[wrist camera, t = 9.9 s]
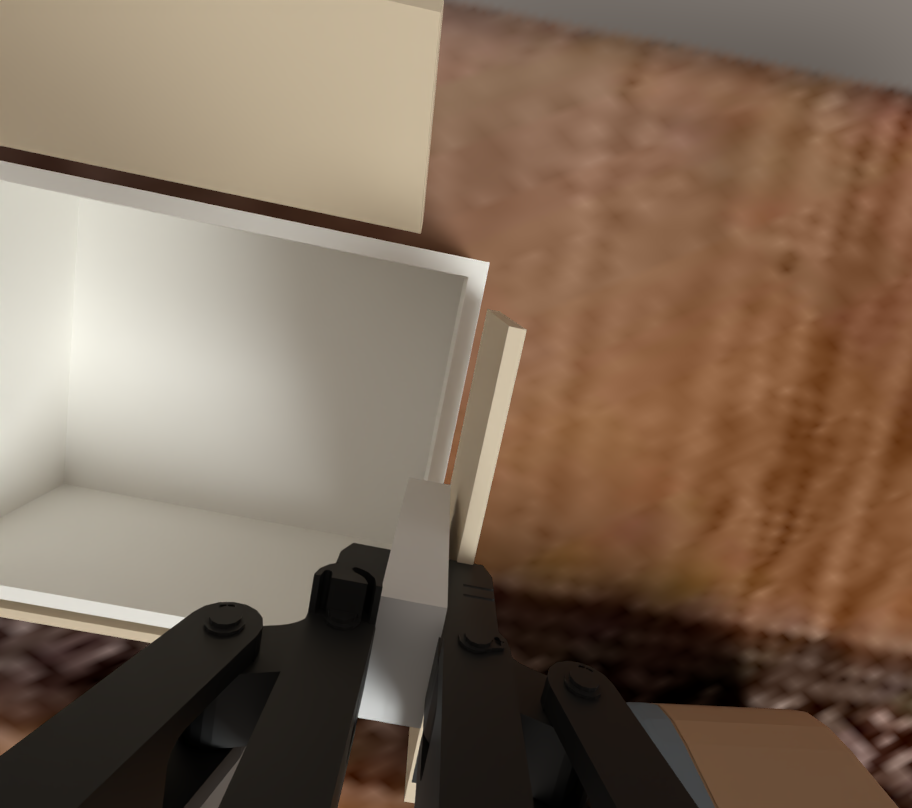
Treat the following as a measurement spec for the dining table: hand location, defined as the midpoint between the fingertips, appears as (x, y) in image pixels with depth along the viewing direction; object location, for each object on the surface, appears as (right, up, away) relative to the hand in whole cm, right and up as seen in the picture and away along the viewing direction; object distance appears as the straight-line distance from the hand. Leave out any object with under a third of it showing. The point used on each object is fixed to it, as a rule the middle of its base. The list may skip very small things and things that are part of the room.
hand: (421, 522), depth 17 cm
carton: (-9, +5, +13) cm, 16 cm away
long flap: (-7, +12, -3) cm, 14 cm away
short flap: (+1, 0, 0) cm, 1 cm away
